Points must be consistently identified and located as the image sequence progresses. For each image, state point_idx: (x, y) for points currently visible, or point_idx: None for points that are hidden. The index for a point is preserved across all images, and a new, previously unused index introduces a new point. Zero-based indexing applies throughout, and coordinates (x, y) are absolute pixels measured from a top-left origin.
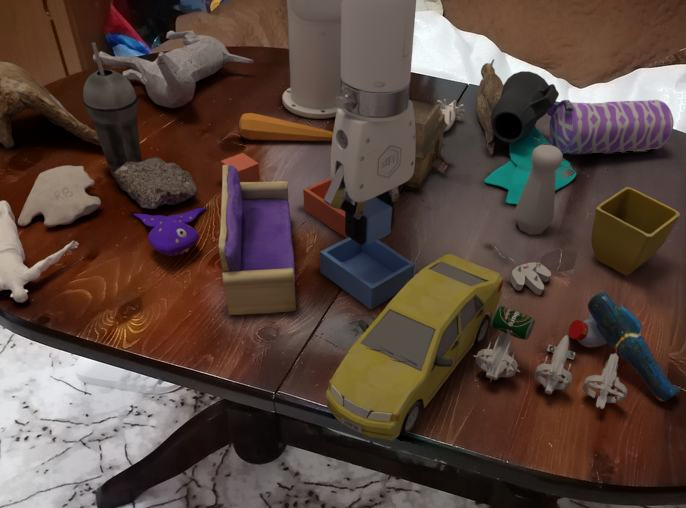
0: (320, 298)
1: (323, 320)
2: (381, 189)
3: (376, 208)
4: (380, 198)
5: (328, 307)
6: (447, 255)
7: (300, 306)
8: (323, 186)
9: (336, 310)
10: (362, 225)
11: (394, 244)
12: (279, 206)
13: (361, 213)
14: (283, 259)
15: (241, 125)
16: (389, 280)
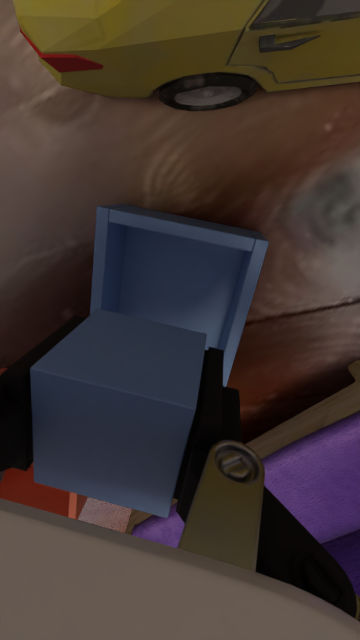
0: (288, 341)
1: (353, 297)
2: (62, 608)
3: (98, 418)
4: (24, 438)
5: (306, 313)
6: (33, 2)
7: (334, 359)
8: (37, 501)
9: (306, 294)
10: (220, 402)
11: (45, 317)
12: (163, 542)
13: (213, 459)
14: (320, 467)
15: None
16: (200, 226)
